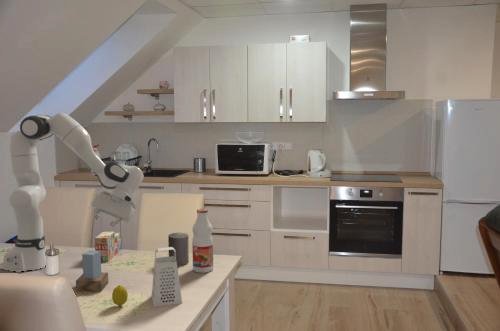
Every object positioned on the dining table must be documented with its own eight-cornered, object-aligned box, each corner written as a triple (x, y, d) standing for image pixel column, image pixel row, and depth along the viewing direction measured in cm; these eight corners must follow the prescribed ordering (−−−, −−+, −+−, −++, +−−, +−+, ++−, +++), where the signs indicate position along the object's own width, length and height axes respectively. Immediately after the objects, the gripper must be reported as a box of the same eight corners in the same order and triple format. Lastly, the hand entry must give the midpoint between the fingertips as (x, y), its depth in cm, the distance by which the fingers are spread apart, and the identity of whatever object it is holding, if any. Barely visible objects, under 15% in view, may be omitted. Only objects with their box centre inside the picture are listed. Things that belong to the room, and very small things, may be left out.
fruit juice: (217, 269, 215) (216, 209, 212) (201, 274, 208) (200, 212, 205) (205, 265, 221) (204, 206, 219) (188, 269, 215) (187, 209, 212)
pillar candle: (164, 262, 225) (163, 232, 224) (180, 258, 232) (180, 228, 231) (177, 267, 219) (176, 236, 217) (193, 262, 226) (192, 232, 224)
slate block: (83, 277, 191) (82, 253, 190) (91, 274, 196) (90, 250, 195) (93, 279, 189) (92, 254, 188) (101, 275, 194) (100, 251, 193)
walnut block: (76, 292, 188) (75, 280, 187) (84, 284, 198) (84, 272, 197) (101, 292, 188) (100, 280, 188) (108, 283, 198) (107, 272, 198)
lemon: (114, 303, 176) (113, 282, 175) (129, 303, 176) (128, 282, 176) (111, 309, 170) (110, 288, 170) (126, 308, 171) (125, 287, 170)
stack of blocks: (109, 249, 249) (108, 227, 247) (121, 249, 249) (120, 227, 247) (95, 262, 227) (94, 237, 226) (108, 262, 227) (107, 237, 226)
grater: (182, 303, 176) (181, 251, 174) (153, 306, 173) (152, 253, 171) (178, 293, 186) (177, 244, 184) (151, 296, 183) (150, 246, 181)
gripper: (99, 186, 216) (82, 211, 210) (136, 201, 210) (119, 226, 203) (104, 193, 222) (87, 217, 215) (140, 207, 215) (123, 233, 209)
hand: (103, 222), depth 209 cm, fingers open, 8 cm apart
